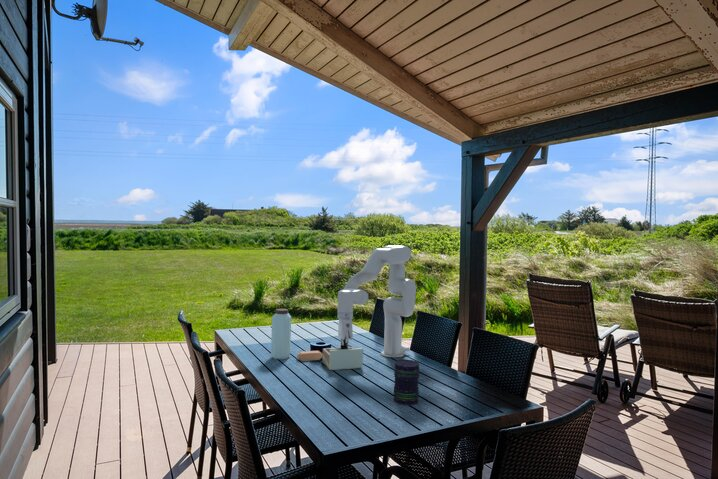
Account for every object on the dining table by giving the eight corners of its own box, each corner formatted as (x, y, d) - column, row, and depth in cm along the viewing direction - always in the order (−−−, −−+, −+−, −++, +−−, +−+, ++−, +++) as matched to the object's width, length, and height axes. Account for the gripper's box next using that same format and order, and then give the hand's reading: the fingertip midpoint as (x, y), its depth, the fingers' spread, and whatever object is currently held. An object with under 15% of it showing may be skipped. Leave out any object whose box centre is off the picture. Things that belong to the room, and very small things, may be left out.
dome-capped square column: (321, 357, 236) (321, 350, 236) (323, 359, 232) (323, 352, 232) (296, 359, 232) (296, 351, 232) (297, 361, 228) (297, 353, 228)
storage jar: (402, 394, 183) (403, 350, 183) (423, 400, 177) (424, 355, 177) (388, 400, 176) (389, 355, 176) (409, 407, 169) (410, 359, 169)
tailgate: (361, 366, 219) (362, 348, 219) (362, 367, 218) (363, 348, 217) (329, 368, 213) (329, 350, 213) (329, 369, 212) (330, 350, 212)
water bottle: (266, 358, 232) (268, 309, 232) (278, 353, 241) (280, 307, 241) (282, 360, 228) (283, 311, 228) (294, 356, 237) (295, 309, 236)
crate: (352, 360, 232) (352, 346, 232) (361, 368, 219) (361, 353, 219) (322, 362, 227) (322, 348, 227) (329, 370, 214) (329, 355, 214)
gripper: (357, 318, 213) (356, 356, 213) (348, 312, 227) (347, 348, 227) (341, 318, 211) (340, 357, 211) (333, 313, 225) (332, 349, 225)
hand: (344, 352), depth 219 cm, fingers closed
